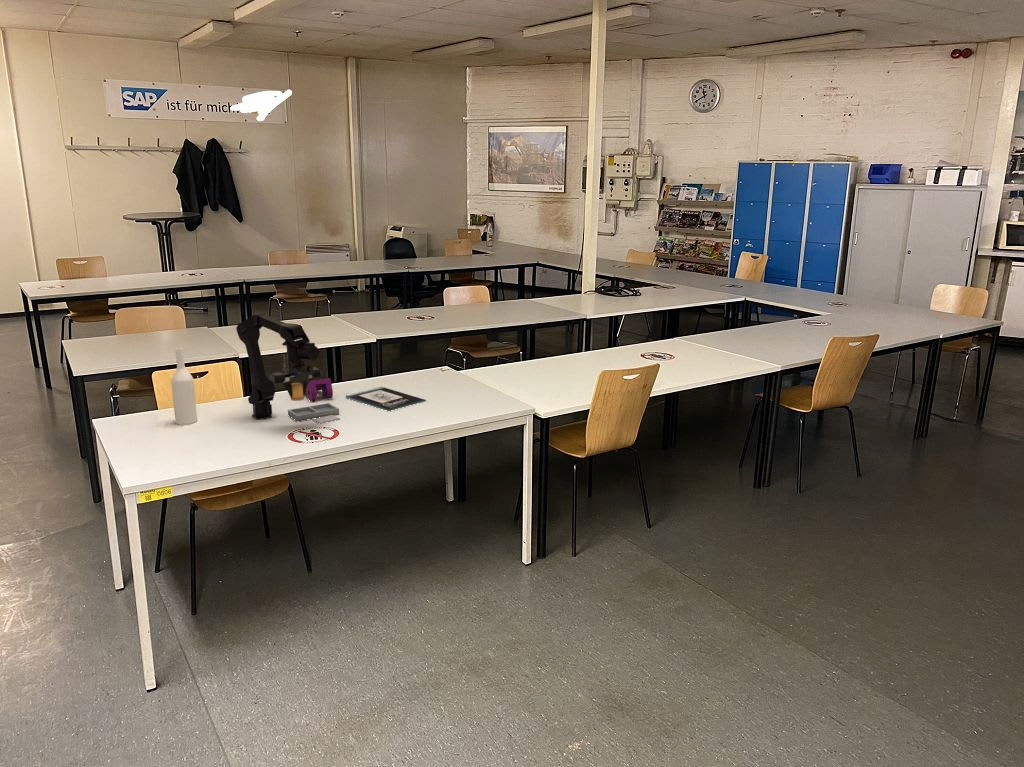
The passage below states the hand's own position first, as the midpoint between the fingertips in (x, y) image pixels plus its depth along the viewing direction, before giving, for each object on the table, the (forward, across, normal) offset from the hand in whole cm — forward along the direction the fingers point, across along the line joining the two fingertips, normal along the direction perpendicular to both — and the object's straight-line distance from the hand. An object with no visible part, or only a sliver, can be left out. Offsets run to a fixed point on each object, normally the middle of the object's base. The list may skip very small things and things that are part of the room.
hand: (297, 396), depth 299 cm
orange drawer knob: (+1, 0, 0) cm, 1 cm away
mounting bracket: (+12, +22, +35) cm, 43 cm away
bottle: (+12, -35, +29) cm, 47 cm away
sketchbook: (+13, +45, +13) cm, 48 cm away
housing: (+12, +10, +9) cm, 18 cm away
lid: (+12, +11, 0) cm, 17 cm away
